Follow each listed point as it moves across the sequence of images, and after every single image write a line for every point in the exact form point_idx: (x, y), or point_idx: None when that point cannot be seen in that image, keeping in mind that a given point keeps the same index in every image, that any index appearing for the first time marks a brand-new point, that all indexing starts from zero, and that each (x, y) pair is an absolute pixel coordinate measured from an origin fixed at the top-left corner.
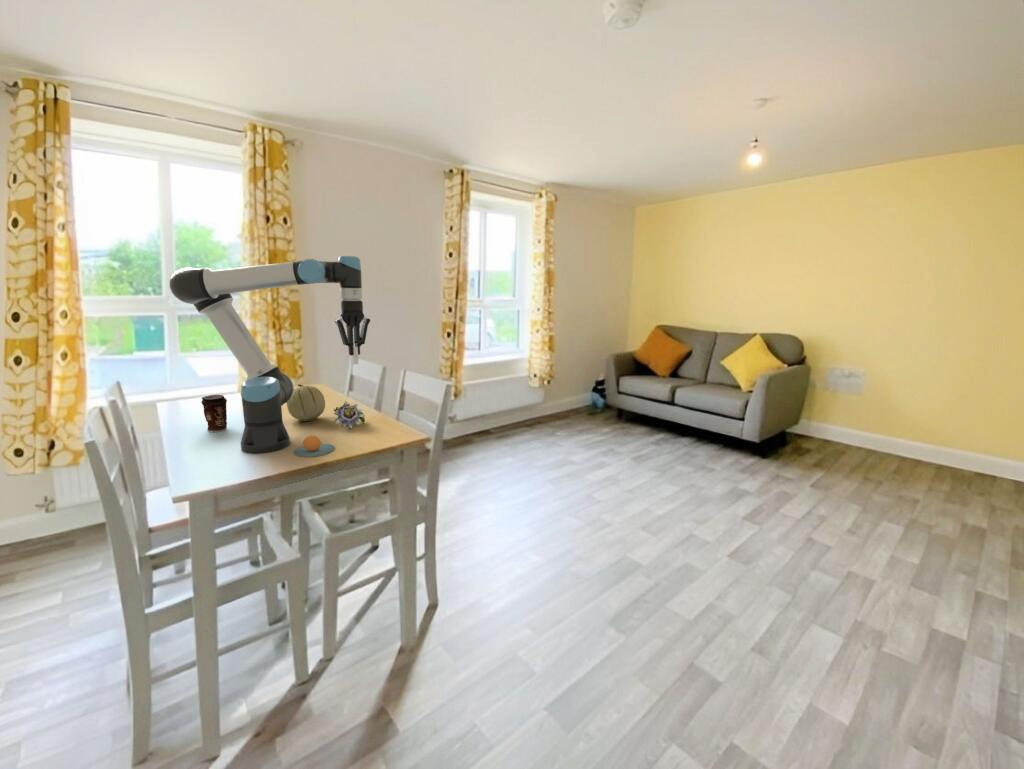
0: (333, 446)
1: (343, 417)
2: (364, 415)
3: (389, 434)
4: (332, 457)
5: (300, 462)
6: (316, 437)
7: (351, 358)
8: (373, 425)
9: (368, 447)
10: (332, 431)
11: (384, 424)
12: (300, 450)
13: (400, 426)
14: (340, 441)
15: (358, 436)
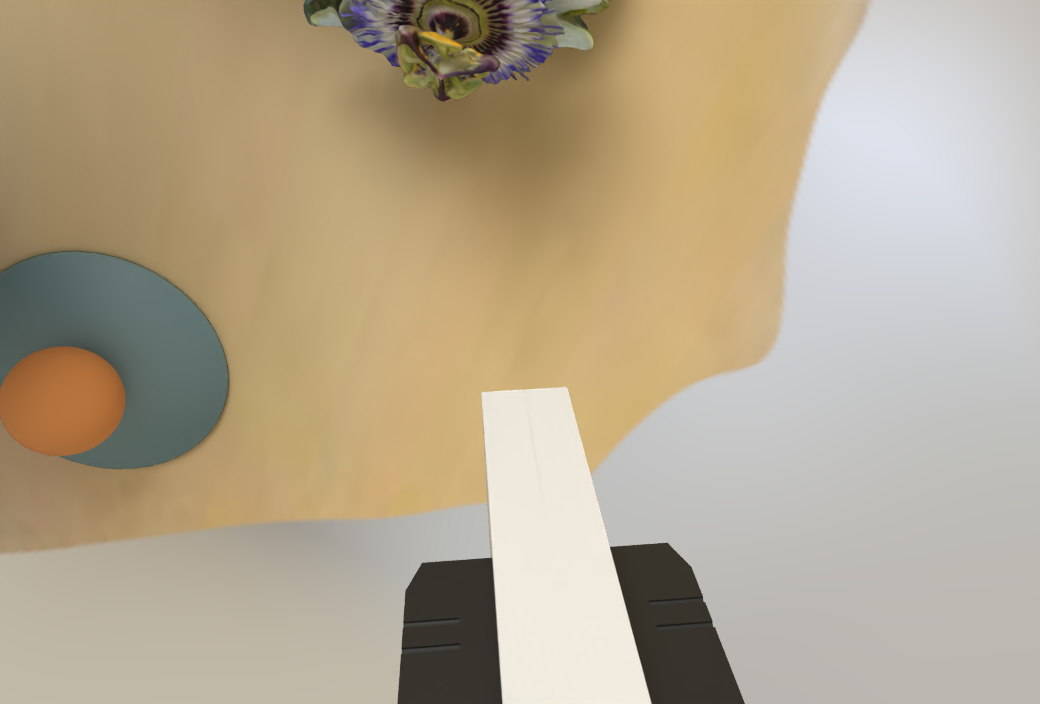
0: (221, 375)
1: (387, 33)
2: (606, 6)
3: (617, 341)
4: (184, 515)
5: (8, 499)
6: (77, 441)
7: (486, 457)
8: (636, 71)
9: (406, 479)
10: (291, 25)
11: (717, 100)
12: (9, 336)
13: (776, 223)
14: (288, 297)
15: (428, 266)
